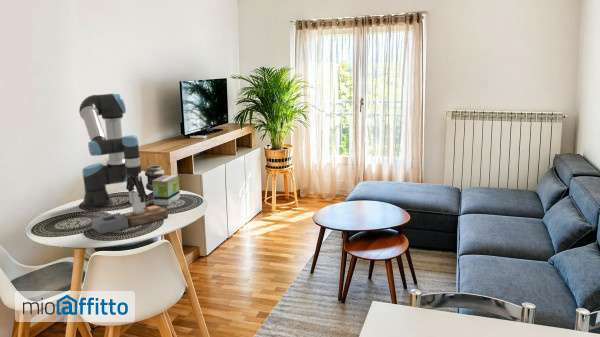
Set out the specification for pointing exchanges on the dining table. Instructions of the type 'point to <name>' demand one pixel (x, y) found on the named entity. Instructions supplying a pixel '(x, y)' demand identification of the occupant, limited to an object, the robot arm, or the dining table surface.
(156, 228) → the dining table surface
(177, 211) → the dining table surface
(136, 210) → the steel peg
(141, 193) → the robot arm
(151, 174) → the apothecary jar
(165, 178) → the tea box
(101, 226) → the block
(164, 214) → the socket block
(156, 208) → the plunger
